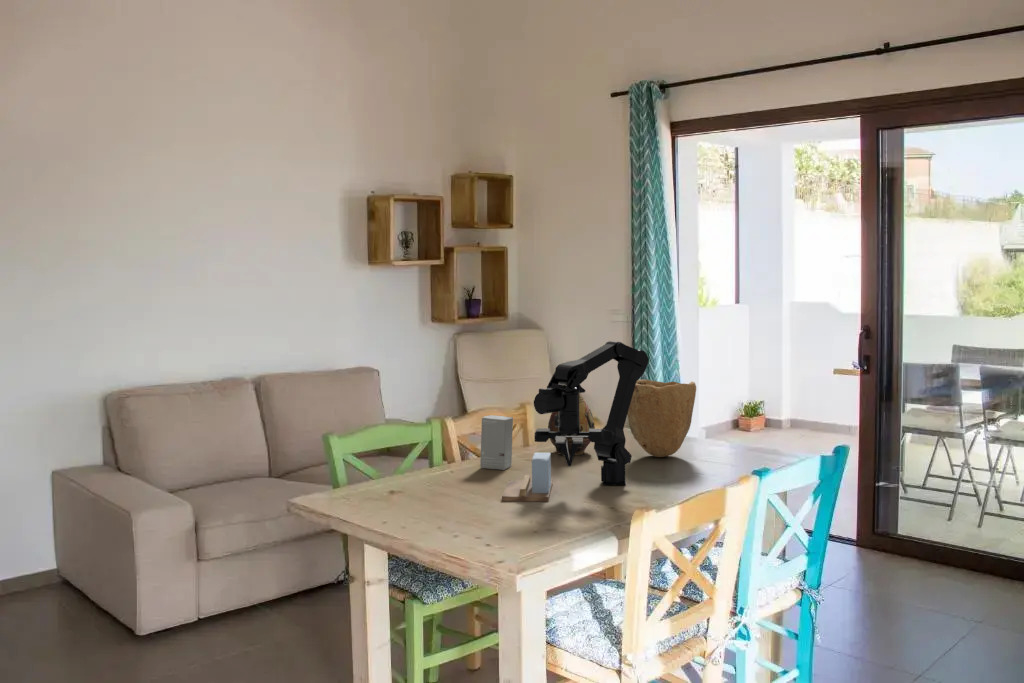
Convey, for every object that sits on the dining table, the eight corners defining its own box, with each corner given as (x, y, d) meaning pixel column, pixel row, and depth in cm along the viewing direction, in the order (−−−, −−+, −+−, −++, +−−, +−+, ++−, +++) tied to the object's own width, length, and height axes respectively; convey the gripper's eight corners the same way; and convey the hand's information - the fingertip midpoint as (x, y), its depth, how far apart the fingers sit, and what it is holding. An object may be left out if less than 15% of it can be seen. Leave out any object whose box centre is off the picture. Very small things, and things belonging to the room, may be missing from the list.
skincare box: (480, 468, 301) (479, 417, 300) (489, 463, 308) (488, 414, 306) (505, 470, 298) (504, 419, 296) (514, 465, 304) (513, 415, 303)
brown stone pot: (707, 454, 317) (707, 377, 314) (680, 467, 298) (680, 386, 296) (643, 447, 329) (643, 373, 326) (613, 460, 310) (613, 381, 308)
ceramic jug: (596, 457, 315) (596, 364, 312) (548, 457, 315) (547, 365, 312) (593, 446, 332) (592, 358, 329) (547, 447, 332) (546, 359, 329)
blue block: (551, 484, 275) (550, 452, 274) (548, 493, 265) (548, 460, 264) (535, 484, 275) (534, 452, 275) (532, 492, 266) (531, 460, 265)
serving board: (552, 484, 279) (552, 474, 279) (548, 501, 261) (548, 490, 261) (509, 484, 280) (508, 474, 280) (502, 500, 263) (501, 489, 262)
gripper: (603, 405, 274) (603, 460, 276) (537, 405, 276) (537, 459, 278) (603, 412, 263) (603, 469, 265) (534, 411, 265) (534, 468, 267)
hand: (569, 466), depth 269 cm, fingers closed
